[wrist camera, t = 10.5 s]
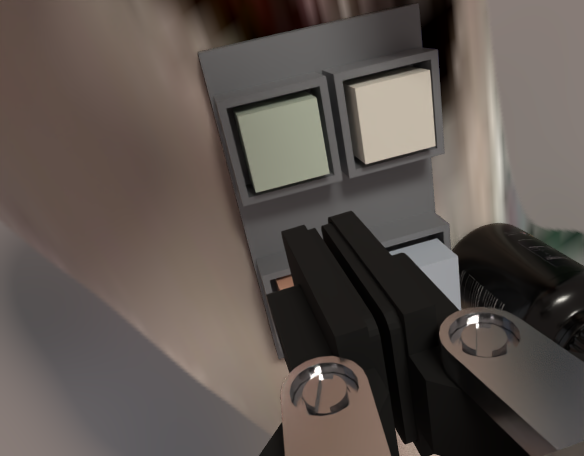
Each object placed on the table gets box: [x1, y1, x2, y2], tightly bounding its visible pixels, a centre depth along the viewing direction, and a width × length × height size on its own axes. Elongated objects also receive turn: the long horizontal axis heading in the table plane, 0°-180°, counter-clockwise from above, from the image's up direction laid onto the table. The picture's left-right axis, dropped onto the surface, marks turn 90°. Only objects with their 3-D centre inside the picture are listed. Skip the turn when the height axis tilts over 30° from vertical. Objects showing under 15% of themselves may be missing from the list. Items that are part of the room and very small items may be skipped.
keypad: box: [198, 3, 451, 359], centre depth 29 cm, size 20×12×3 cm, turn 12°
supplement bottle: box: [452, 223, 584, 354], centre depth 30 cm, size 7×7×12 cm
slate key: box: [389, 238, 461, 310], centre depth 29 cm, size 4×4×2 cm
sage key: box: [233, 91, 330, 193], centre depth 26 cm, size 4×4×2 cm
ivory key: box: [343, 66, 436, 164], centre depth 27 cm, size 4×4×2 cm
